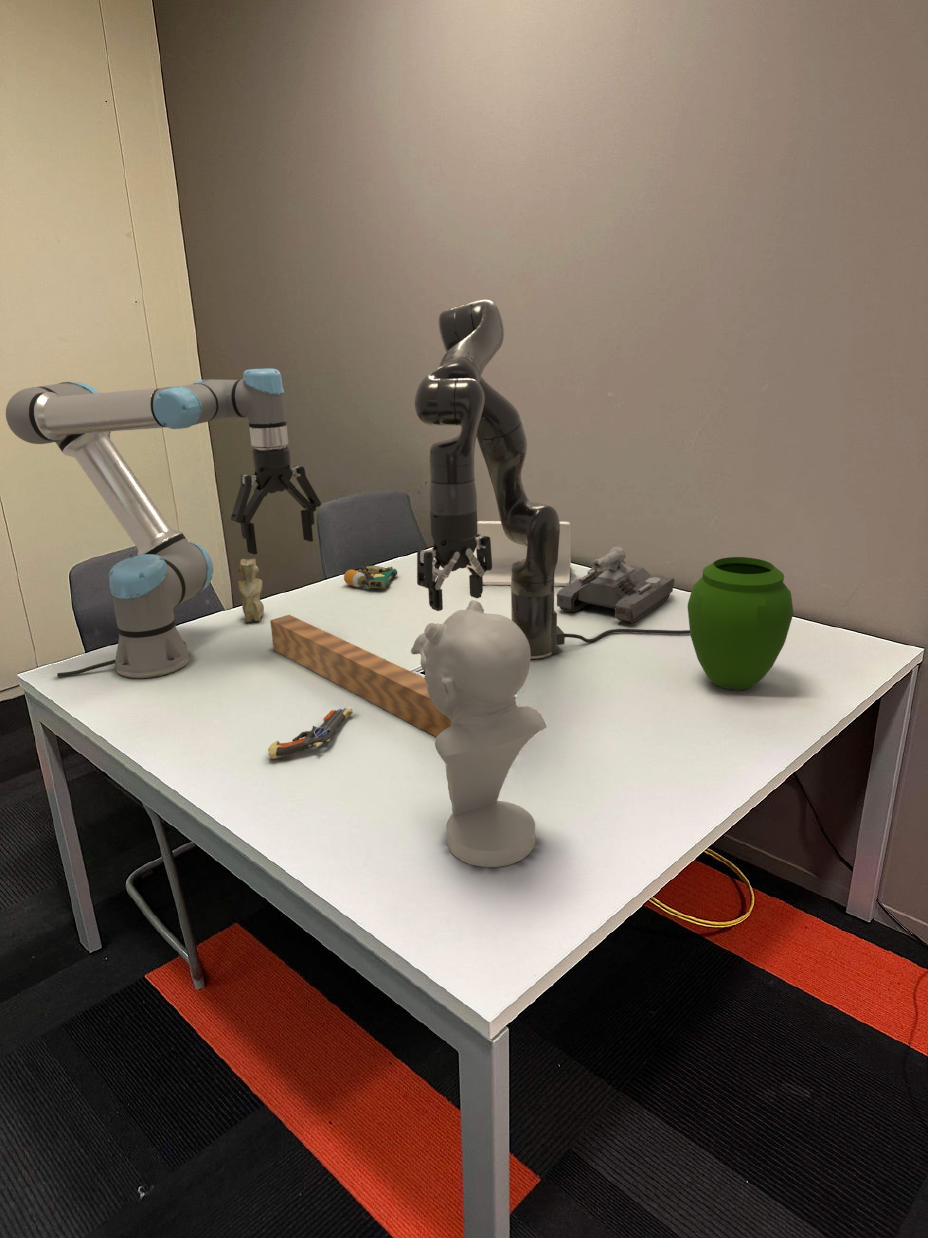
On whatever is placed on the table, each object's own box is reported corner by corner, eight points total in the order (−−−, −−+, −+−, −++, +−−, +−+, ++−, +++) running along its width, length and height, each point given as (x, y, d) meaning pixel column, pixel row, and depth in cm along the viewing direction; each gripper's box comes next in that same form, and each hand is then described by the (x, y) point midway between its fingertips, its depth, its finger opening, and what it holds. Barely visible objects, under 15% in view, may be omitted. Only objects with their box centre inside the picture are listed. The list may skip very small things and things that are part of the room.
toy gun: (263, 749, 145) (318, 746, 143) (303, 706, 163) (352, 703, 161) (266, 763, 146) (321, 761, 144) (306, 719, 164) (355, 716, 161)
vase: (795, 674, 173) (808, 558, 164) (770, 712, 157) (784, 587, 149) (700, 656, 183) (708, 546, 174) (668, 690, 167) (675, 571, 159)
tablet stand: (569, 585, 229) (570, 524, 223) (476, 584, 232) (475, 523, 226) (570, 566, 246) (571, 508, 240) (484, 564, 249) (483, 507, 243)
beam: (489, 744, 149) (488, 707, 147) (468, 754, 146) (467, 717, 144) (292, 644, 196) (289, 614, 194) (273, 649, 193) (270, 620, 191)
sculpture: (268, 613, 216) (261, 555, 210) (263, 623, 209) (256, 564, 204) (245, 614, 215) (238, 556, 210) (239, 624, 209) (232, 565, 203)
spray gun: (366, 572, 247) (411, 580, 241) (334, 586, 233) (382, 594, 227) (366, 558, 246) (412, 565, 240) (334, 571, 232) (382, 579, 226)
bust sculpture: (481, 772, 140) (476, 569, 128) (565, 848, 120) (569, 617, 108) (392, 800, 134) (378, 588, 121) (465, 886, 114) (457, 642, 101)
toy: (603, 584, 229) (605, 530, 224) (673, 597, 218) (677, 540, 213) (555, 612, 210) (556, 553, 205) (630, 627, 199) (633, 566, 194)
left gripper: (312, 437, 186) (321, 532, 193) (205, 453, 171) (219, 555, 178) (331, 441, 181) (339, 538, 188) (222, 457, 165) (236, 562, 173)
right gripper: (470, 496, 143) (473, 588, 149) (403, 511, 134) (408, 608, 140) (501, 503, 138) (503, 598, 144) (434, 519, 129) (438, 619, 135)
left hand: (281, 546), depth 183 cm, fingers open, 13 cm apart
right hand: (456, 603), depth 142 cm, fingers open, 8 cm apart
